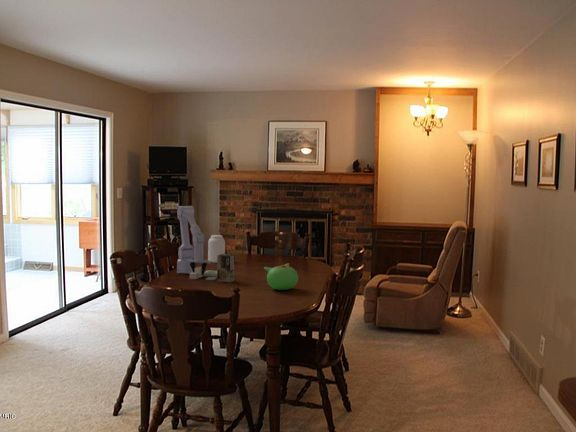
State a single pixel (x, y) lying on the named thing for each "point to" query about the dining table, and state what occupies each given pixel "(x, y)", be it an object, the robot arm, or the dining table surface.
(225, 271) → the coffee box
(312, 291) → the dining table surface
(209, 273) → the outlet plate
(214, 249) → the can
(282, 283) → the green rounded lump
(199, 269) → the charger
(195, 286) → the dining table surface
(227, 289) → the dining table surface
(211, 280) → the phone
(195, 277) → the cable plug
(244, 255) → the dining table surface
